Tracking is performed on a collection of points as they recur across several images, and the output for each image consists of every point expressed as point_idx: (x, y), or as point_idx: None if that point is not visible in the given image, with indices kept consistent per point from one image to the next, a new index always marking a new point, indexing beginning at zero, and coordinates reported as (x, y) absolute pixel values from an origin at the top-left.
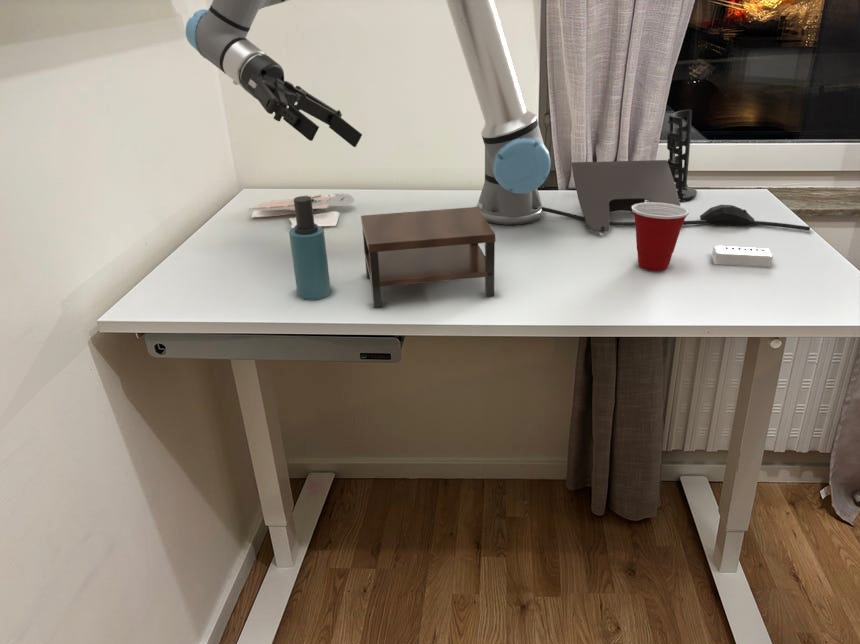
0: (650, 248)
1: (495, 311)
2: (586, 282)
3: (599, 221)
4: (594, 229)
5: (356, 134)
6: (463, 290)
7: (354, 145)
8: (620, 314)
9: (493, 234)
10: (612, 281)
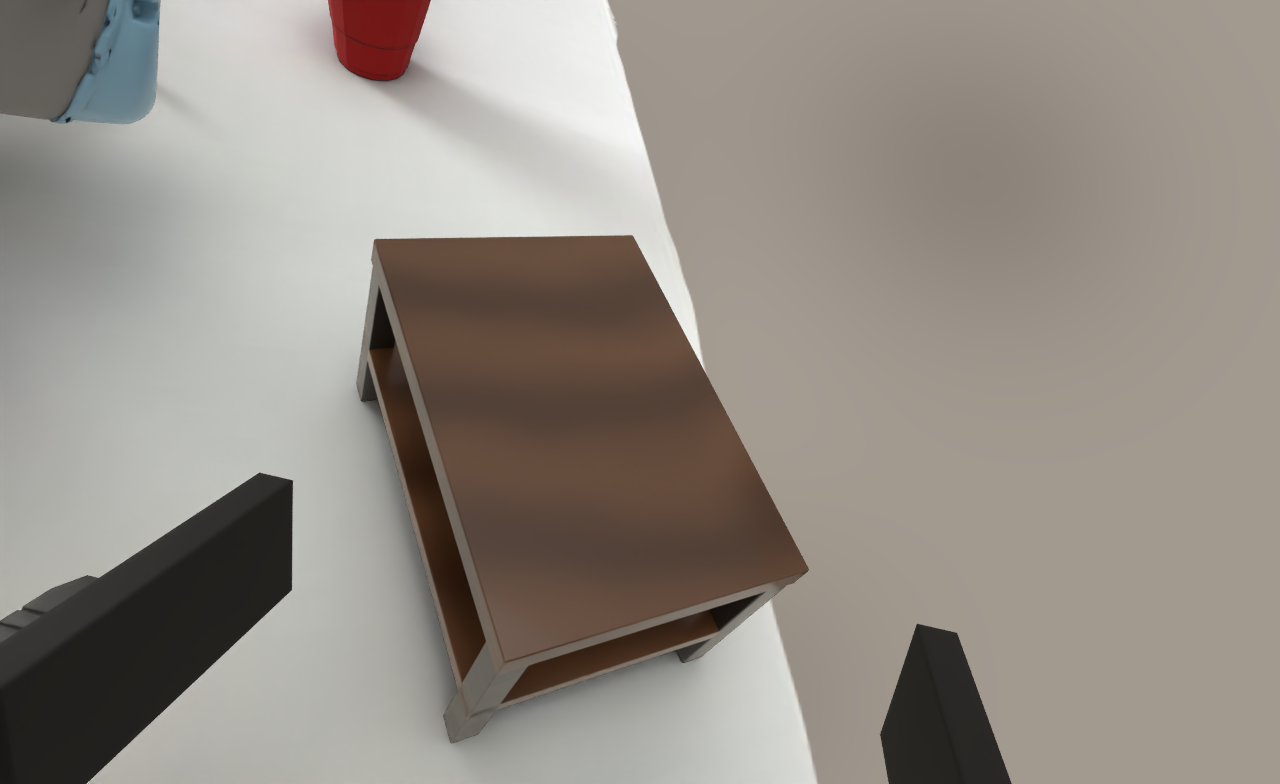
0: (419, 27)
1: None
2: (470, 183)
3: None
4: None
5: (273, 515)
6: None
7: (286, 577)
8: (619, 178)
9: (634, 239)
10: (462, 143)
